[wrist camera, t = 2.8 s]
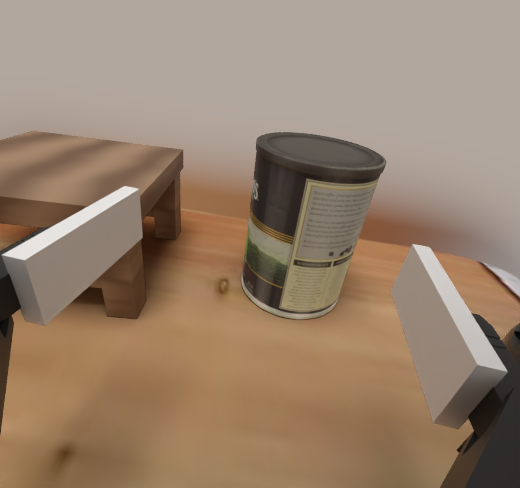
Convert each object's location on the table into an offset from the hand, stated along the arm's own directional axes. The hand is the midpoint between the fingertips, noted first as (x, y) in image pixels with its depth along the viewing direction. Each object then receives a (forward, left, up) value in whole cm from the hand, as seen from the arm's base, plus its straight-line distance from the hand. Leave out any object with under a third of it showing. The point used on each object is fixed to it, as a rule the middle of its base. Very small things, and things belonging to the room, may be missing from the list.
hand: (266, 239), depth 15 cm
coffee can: (-4, -12, -12) cm, 18 cm away
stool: (+17, -13, -12) cm, 24 cm away
